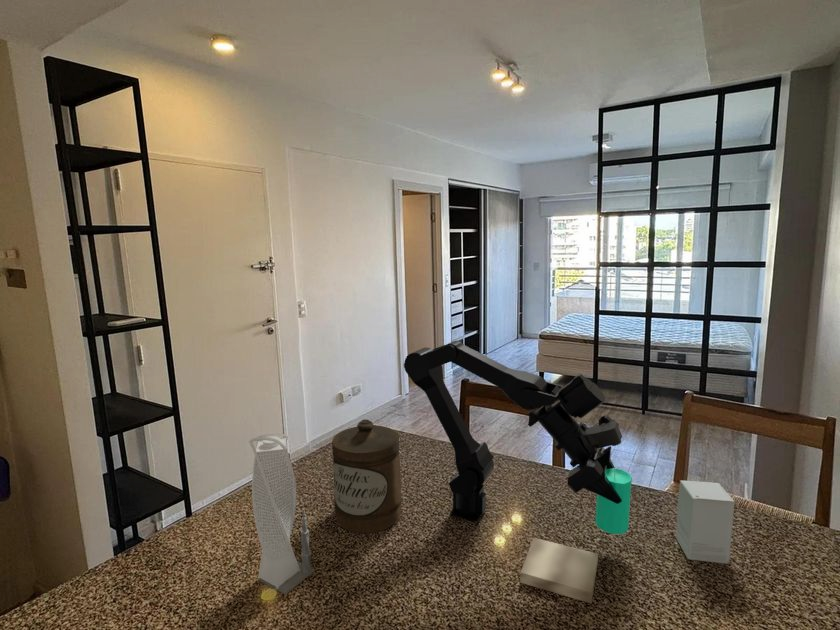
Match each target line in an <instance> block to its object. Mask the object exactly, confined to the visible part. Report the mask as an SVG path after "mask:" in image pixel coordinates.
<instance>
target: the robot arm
mask: <svg viewBox="0 0 840 630" xmlns="http://www.w3.org/2000/svg"><path fill="white" fill-rule="evenodd" d="M448 363H453V364H455V365H456V366H458V367H460V368H461V369H464V370H466V371H468V372H469V373H471V374H474V375H475V376H476V377H479V378H481V379H483V380H484V381H486V382H488V383H490V384H492V385H494V386H496V387H498V388H499V389H500V390H501V391H503V393H504V394H505V396H506V398H509V400H511V401H512V402H513V403H514V404H516V405H517V406H519V407H520V408H521V409H523V410H526V411H529V412H528V424H527V425H528V427H533V426H534V425H535V424H537V423H538V422H539V424H540V425H541V426H542V427H543V429H544V430H545V431H546V432H547V434H549V435H550V437H551V438H552V439H553V440H554V442H555V443H556V444H555V446H554V448H555V449H556V450H557V451H560V450H561V449H562V450H563V452H564V453H565V454H566V455H567V456H568V459H570V461H569V465H570V466H571V467H572V468H571V469H570V472H569V475H568V476H567V483H566V484H567V486H568V487H569V488H570V490H571V491H572V492H573V493H574V494H576V493H578V492H580V491H582V490H584V489H585V490H587V491H589V492H591V493H594V494H596V495H597V494H598V495H600V496H602V497H604V498H606V499H608V500H610V501H612V502H614V503H617V504H619V503H620V502H622V499H621V498H620V496H619V495H618V493H617V492H616V490H615V489H614V487H613V486H612V484H611V483H610V481H609V480H608V478H607V477H606V469H611V468H615V467H616V466H614V463H613V461H612V459H611V455H612V447H615V446H618V445H619V446H620V444H621V443H622V439H623V434H622V432H621V430H620V428H619V426H620V424H619V422H617V421H616V419H612V418H611V417H610V416H609V415H608V414H603V415H600V416H599V418H598V423H597V424H596V423H595V424H594V425H593V426H590V427H588V426H587V424H585V423H583V422H580V423H578V421H576V418H579V419H582V418H584V417H585V416H587V415H588V414H589V413H591V412H593V411H594V410H595V409H596V408H598V407H599V406H601V405H602V404H603V403H605V402H606V397H605V395H604V393H603V392H602V390H601V388H599V386H598V385H597V384H596V383H595V382H593V381H592V380H590V379H589V378H587V377H585V376H584V375H583V374H582V373H577V375H576V376H574V378H572V380H571V381H570V382H568V383H567V384H565V385H561V384H557V383H553V382H549V381H547V380H546V379H545V378H544V377H543V376H540V375H538V374H535V373H532V372H528V371H526V370H519V369H518V370H517V369H513V368H510V367H508V366H506V365H504V364H502V363H500V362H498V361H496V360H494V359H493V358H490V357H488V356H487V355H485V354H482V353H481V352H479V351H477V350H475V349H473V348H471V347H469V346H468V345H465V344H464V343H463V342H462V341H459V340H453V341H450V342H448V343H447V344H444V345H440V346H438V347H434V348H431V347H422V348H419V349H418V350H416V351H415V350H414V351H413V352H410V353H409V354H408V355H407V356H406V357H405V360H404V362H403V368H404V370H405V373H406V374H407V376H408V377H409V378H410V379H411V381H412V383H413V384H414V385H416V386H417V387H418V388H419V389H421V390H422V391H423V392H424V393H425V395H426V397H427V399H428V401H429V402H430V405H431V407H432V409H433V410H434V413H435V416H437V418H438V421H439V422H440V424H441V426H442V428H443V431H444V432H445V434H446V436H447V438H448V441H449V443H450V444H451V446H452V448H453V450H454V461H455V466H456V470H457V474H455V476H453V478H452V479H451V480H450V481H449V482H448V486H449V488H450V492H451V493H452V509H451V510H450V512H449V515H450V516H452V517H457V518H460V519H463V520H464V519H465V520H468V521H473V522H478V521H479V520H480V518H481V517H482V516H483V515H484V513H485V512H486V510H487V509H486V508H487V507H486V506H487V504H486V503H487V497H486V496H487V493H486V492H485V491H484V490H485V489H484V487H485V486H484V485H483V484H485V482H486V480H487V479H488V478H489V477H490V475H491V474H492V473H493V470H494V466H495V462H494V460H493V459H495V456H494V455H493V454H492V453H491V452H490V450H489V446H488V444H487V442H486V441H484V442H481V443H479V442H478V440H475V439H474V437H473V436H472V434H471V432H470V430H469V427H468V425H466V423H465V420H464V418H463V417H462V415H461V412H460V411H459V409H458V407H457V405H456V403H455V401H454V399H453V396H452V395H451V392H450V391H449V389H448V387H447V386H446V383H445V382H444V370H443V365H445V364H448ZM539 407H540V408H539ZM606 447H607V448H606Z"/></svg>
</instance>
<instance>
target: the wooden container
mask: <svg viewBox="0 0 840 630" xmlns="http://www.w3.org/2000/svg"><path fill="white" fill-rule="evenodd" d="M331 440H332V442H331V448H332V456H333V459H332V460H333V462H332V463H333V496H334V497H333V499H334V515H335V521H336V523H337V524H338V526H340V527H341V528H342V529H345V530H346V531H349V532H352V533H358V534H360V533H361V534H371V533H377V532H382V531H384V530H387V529H389V528H390V527H392V526H394V525H395V524H396V523H397V522H398V521H399V520H400V519H401V516H402V508H403V506H402V479H401V478H402V476H401V475H402V473H401V459H400V438H399V434H398V432H397V431H396V430H394V429H393V428H391V427H388V426H383V425H375V424H374V423H373V421H372V420H369V419H362V420H361V421H359V422H358V423H357V425H356V426H353V427H350V428H349V427H348V428H347V429H344V430H342V431H341V430H340V431H339V432H338V433H336V434H335V435H334V436H333V438H332V439H331Z"/></svg>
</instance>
